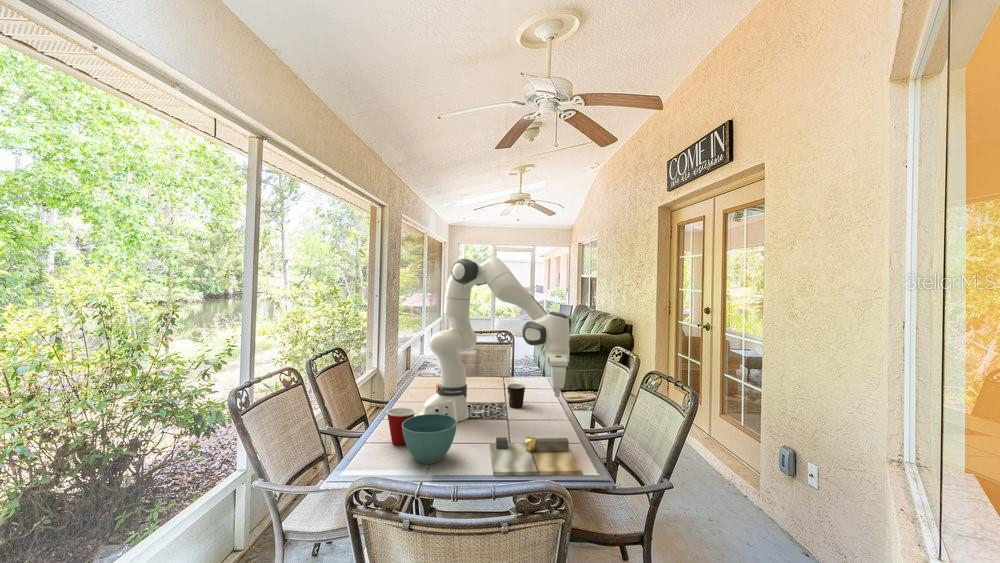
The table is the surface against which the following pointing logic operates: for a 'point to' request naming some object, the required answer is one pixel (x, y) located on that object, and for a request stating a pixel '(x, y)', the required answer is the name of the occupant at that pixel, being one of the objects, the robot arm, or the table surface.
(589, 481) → the table surface
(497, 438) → the block
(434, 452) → the plant pot
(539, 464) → the door board
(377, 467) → the table surface
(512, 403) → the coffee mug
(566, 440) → the latch bar
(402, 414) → the plastic cup
